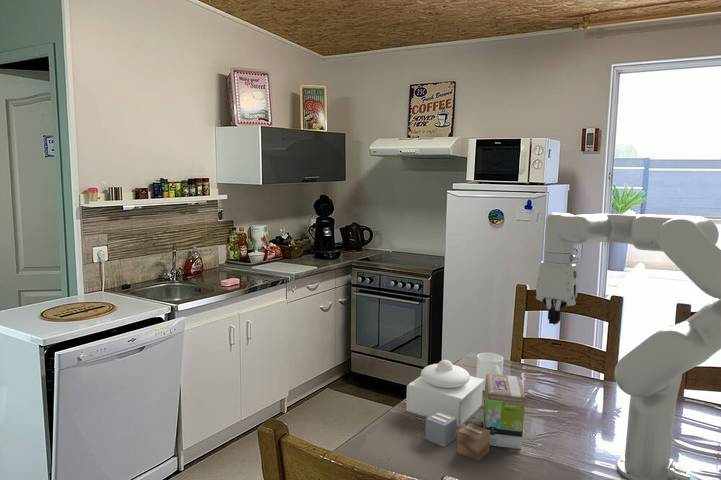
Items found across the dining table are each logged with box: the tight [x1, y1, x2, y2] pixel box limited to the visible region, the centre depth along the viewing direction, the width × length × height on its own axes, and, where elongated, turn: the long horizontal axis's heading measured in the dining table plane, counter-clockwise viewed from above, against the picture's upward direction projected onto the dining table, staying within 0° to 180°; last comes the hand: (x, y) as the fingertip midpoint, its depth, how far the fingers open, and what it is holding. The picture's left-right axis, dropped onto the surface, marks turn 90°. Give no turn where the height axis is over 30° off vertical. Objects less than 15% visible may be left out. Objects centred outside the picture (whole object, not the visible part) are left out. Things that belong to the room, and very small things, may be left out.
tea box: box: [482, 374, 526, 450], centre depth 146 cm, size 15×10×15 cm, turn 168°
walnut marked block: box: [456, 422, 491, 462], centre depth 137 cm, size 6×6×6 cm
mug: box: [475, 352, 504, 392], centre depth 177 cm, size 9×12×11 cm
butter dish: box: [405, 359, 485, 428], centre depth 161 cm, size 18×18×16 cm
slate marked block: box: [425, 411, 458, 448], centre depth 143 cm, size 6×6×6 cm
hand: (553, 323), depth 147 cm, fingers closed
